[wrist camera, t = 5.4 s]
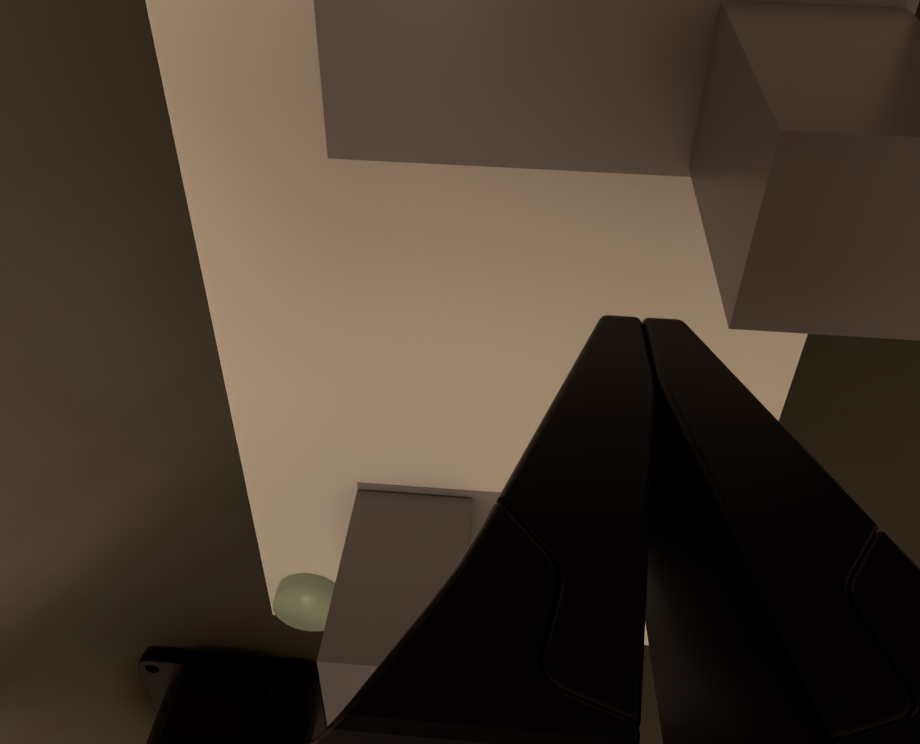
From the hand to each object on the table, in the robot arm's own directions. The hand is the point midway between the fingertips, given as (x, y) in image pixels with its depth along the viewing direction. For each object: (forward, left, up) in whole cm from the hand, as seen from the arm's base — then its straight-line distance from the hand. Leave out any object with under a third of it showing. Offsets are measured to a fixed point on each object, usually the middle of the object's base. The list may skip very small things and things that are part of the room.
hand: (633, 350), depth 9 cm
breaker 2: (0, -3, -8) cm, 9 cm away
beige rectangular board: (-6, +2, -10) cm, 11 cm away
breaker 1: (-13, +4, -8) cm, 15 cm away
